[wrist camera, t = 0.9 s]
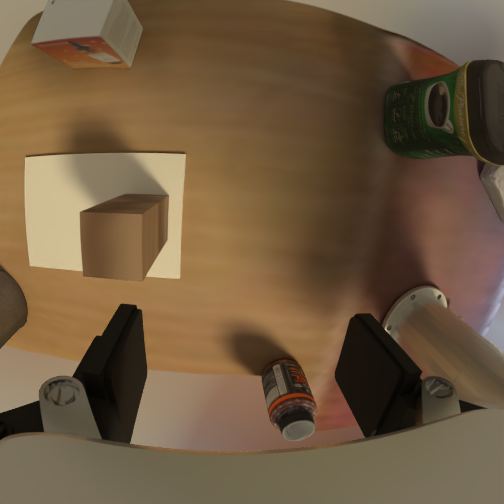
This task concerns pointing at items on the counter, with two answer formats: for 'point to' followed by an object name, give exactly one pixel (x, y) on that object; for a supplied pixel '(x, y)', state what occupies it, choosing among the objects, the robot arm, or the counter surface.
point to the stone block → (494, 186)
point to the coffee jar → (449, 114)
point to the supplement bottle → (289, 399)
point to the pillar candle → (11, 307)
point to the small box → (89, 33)
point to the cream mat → (96, 201)
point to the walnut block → (123, 236)
